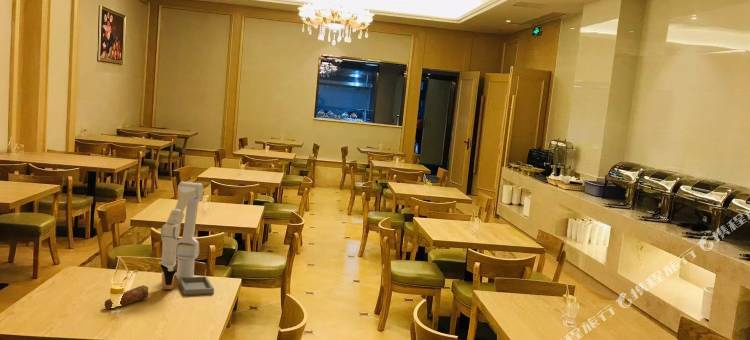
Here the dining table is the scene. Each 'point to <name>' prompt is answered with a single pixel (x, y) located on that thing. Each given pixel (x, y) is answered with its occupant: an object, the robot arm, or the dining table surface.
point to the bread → (130, 296)
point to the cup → (163, 284)
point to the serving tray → (196, 285)
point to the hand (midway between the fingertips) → (167, 282)
